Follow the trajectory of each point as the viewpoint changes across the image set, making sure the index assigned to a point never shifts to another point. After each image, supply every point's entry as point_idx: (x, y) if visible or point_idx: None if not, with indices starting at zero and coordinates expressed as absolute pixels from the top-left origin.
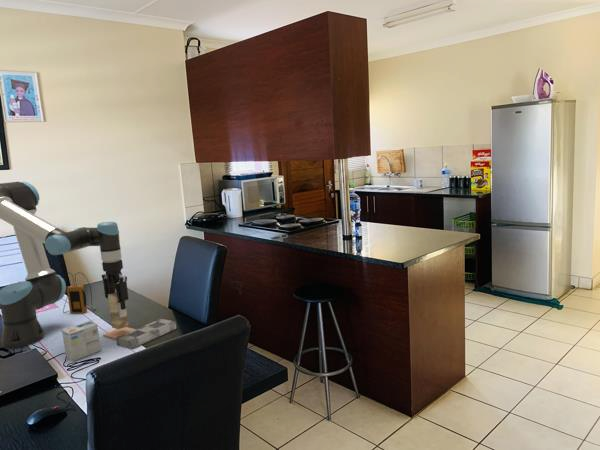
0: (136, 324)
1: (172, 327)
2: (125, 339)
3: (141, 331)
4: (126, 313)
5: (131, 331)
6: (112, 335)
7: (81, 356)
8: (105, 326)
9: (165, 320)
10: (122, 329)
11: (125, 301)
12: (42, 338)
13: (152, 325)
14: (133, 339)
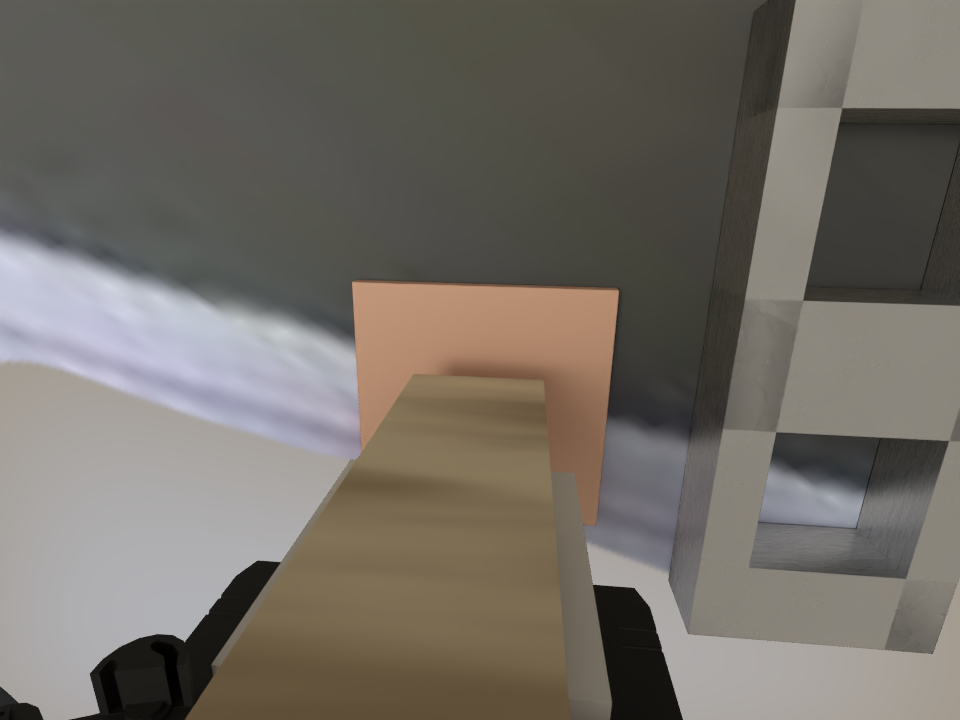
0: (404, 147)
1: None
2: (833, 637)
3: (844, 434)
4: (547, 459)
5: (726, 481)
6: None
7: None
8: (152, 338)
9: (937, 5)
10: (427, 353)
11: (559, 605)
12: (5, 693)
13: (811, 212)
14: (923, 612)
